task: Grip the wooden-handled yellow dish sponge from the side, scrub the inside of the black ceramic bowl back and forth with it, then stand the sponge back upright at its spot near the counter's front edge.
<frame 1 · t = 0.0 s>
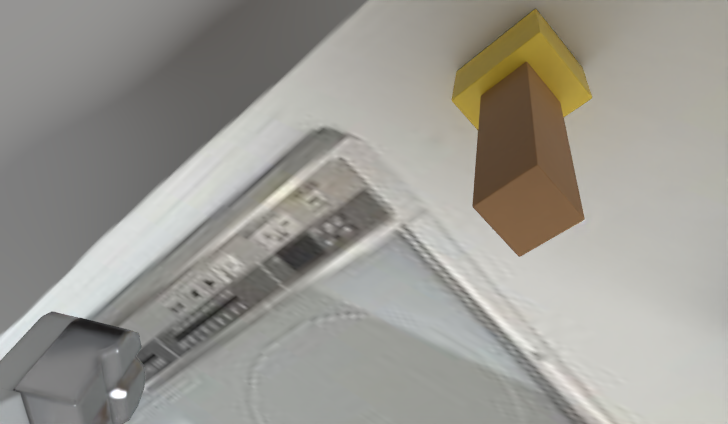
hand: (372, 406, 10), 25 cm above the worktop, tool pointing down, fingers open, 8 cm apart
sponge wand: (518, 70, 32), on the worktop
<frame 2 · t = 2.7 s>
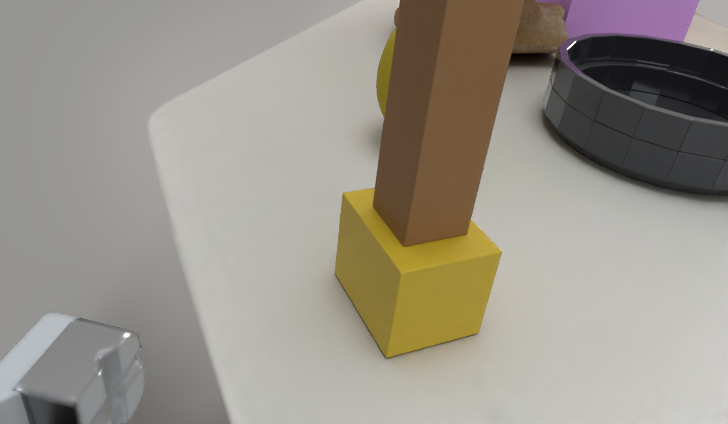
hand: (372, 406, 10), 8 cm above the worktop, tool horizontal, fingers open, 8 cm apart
sponge wand: (403, 301, 25), on the worktop
stone cup: (482, 51, 52), on the worktop
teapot: (588, 23, 63), on the worktop
lemon: (415, 147, 36), on the worktop
bowl: (656, 138, 40), on the worktop
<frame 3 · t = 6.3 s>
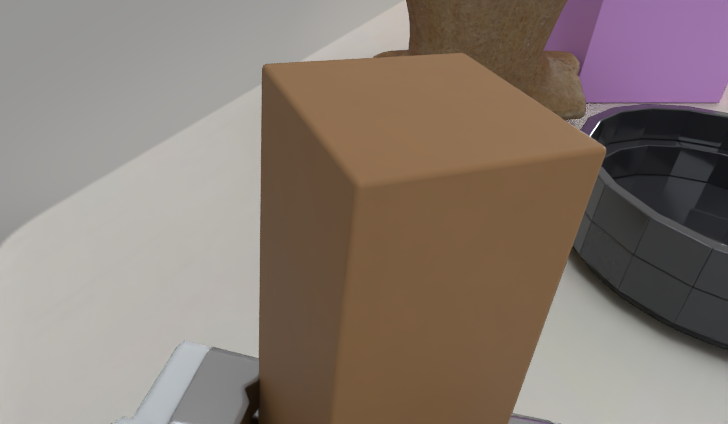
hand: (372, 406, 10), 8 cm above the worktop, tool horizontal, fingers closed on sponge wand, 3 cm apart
stone cup: (476, 115, 41), on the worktop
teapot: (605, 67, 52), on the worktop
bowl: (711, 255, 30), on the worktop
when the fingers open (8 cm above the worktop, at t = 22.6 s): sponge wand stays where it is, on the worktop.
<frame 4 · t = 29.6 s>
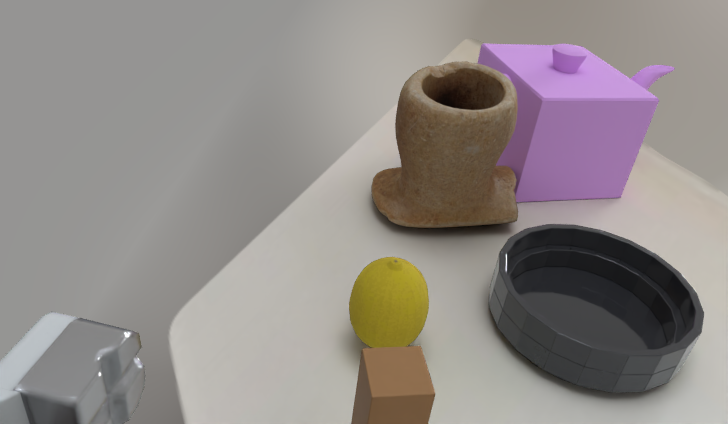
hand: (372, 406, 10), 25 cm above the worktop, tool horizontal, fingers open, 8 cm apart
stone cup: (447, 215, 61), on the worktop
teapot: (544, 165, 72), on the worktop
lemon: (381, 347, 46), on the worktop
bowl: (580, 323, 50), on the worktop
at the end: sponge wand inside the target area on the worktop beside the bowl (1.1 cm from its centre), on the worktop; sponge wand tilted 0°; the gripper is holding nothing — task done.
